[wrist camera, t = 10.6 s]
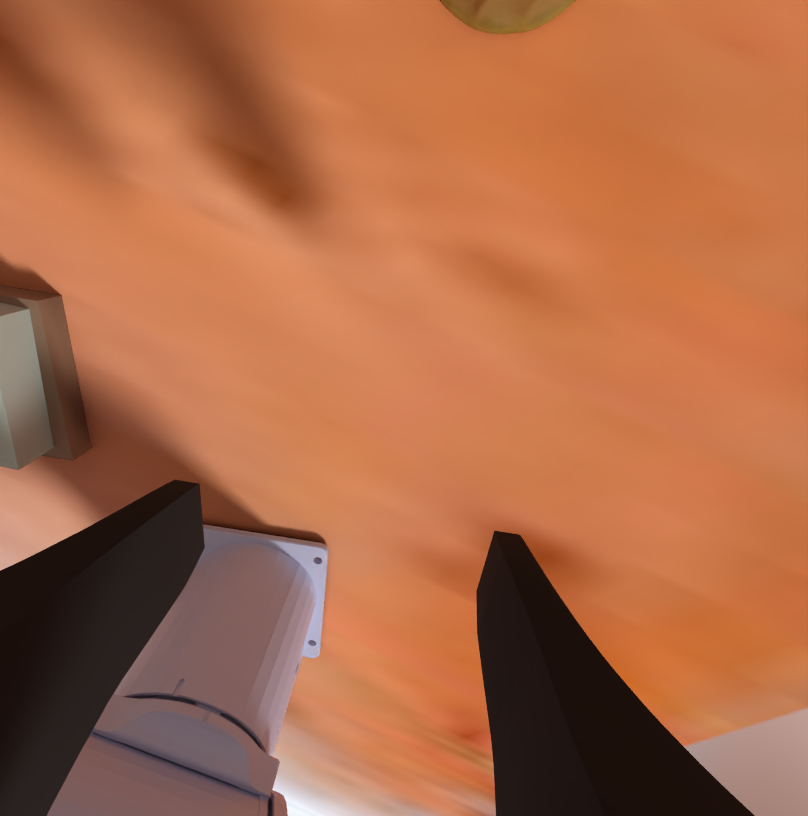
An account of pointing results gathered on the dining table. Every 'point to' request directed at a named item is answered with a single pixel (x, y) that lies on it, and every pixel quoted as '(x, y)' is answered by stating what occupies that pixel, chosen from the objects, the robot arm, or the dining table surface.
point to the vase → (506, 13)
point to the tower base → (55, 370)
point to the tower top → (21, 392)
